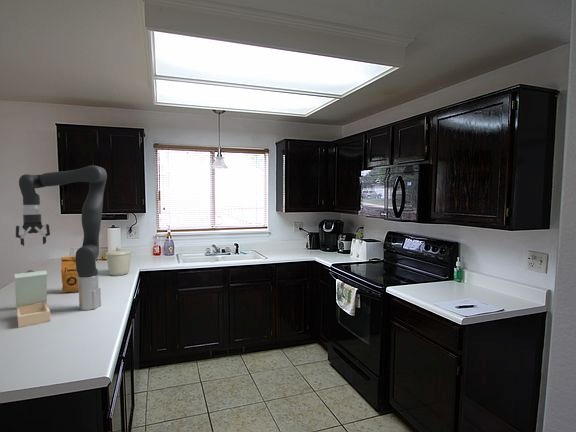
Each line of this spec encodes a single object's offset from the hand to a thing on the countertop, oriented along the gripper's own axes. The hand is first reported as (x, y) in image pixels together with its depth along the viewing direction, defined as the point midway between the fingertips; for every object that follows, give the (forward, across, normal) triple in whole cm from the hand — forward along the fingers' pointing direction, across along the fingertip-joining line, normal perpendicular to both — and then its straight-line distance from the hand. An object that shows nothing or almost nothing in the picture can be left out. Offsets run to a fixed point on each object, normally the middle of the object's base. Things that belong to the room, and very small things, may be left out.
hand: (33, 244), depth 179 cm
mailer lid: (+21, +2, +14) cm, 25 cm away
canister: (+34, -54, -59) cm, 87 cm away
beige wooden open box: (+34, +2, +17) cm, 38 cm away
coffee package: (+34, -20, -27) cm, 48 cm away
